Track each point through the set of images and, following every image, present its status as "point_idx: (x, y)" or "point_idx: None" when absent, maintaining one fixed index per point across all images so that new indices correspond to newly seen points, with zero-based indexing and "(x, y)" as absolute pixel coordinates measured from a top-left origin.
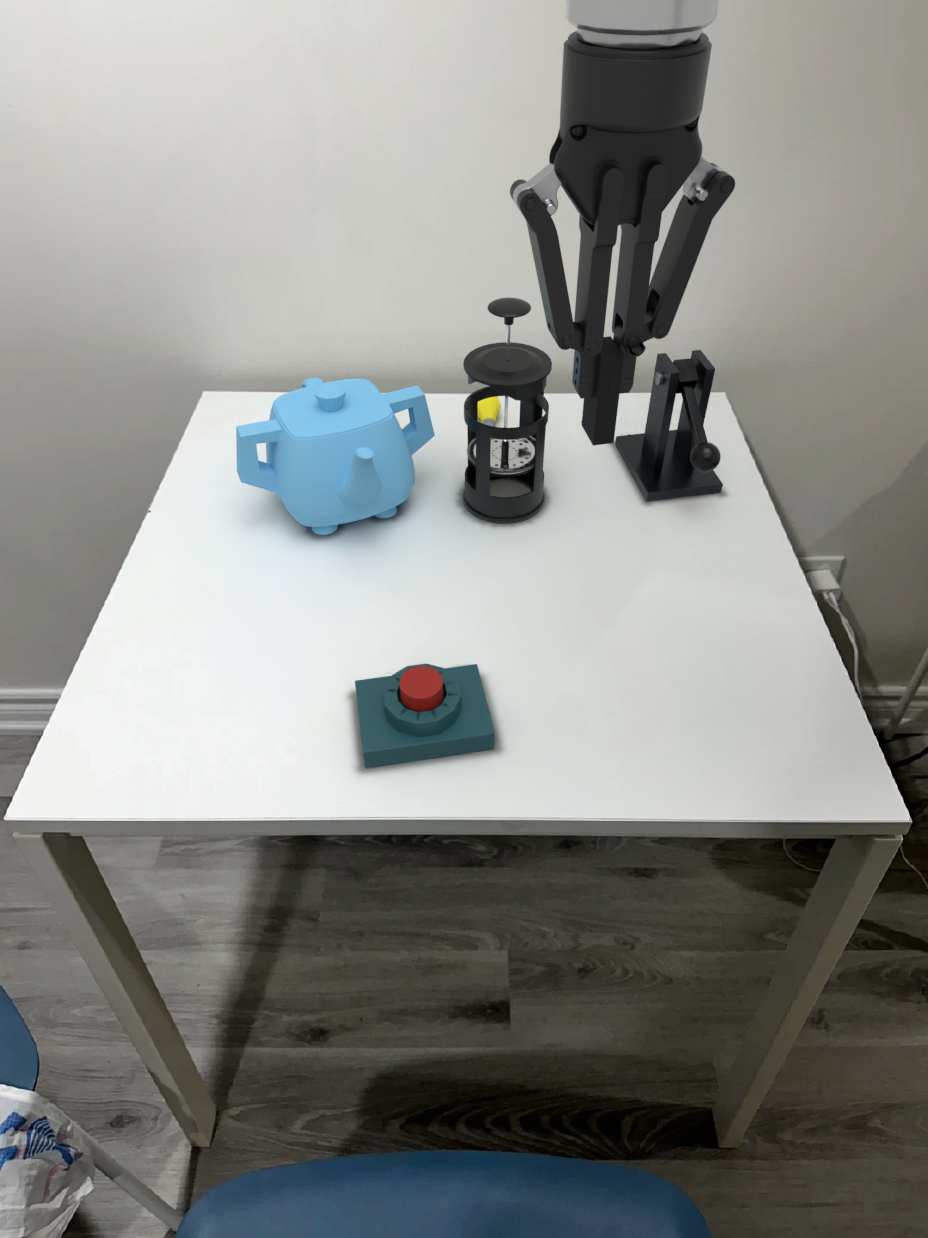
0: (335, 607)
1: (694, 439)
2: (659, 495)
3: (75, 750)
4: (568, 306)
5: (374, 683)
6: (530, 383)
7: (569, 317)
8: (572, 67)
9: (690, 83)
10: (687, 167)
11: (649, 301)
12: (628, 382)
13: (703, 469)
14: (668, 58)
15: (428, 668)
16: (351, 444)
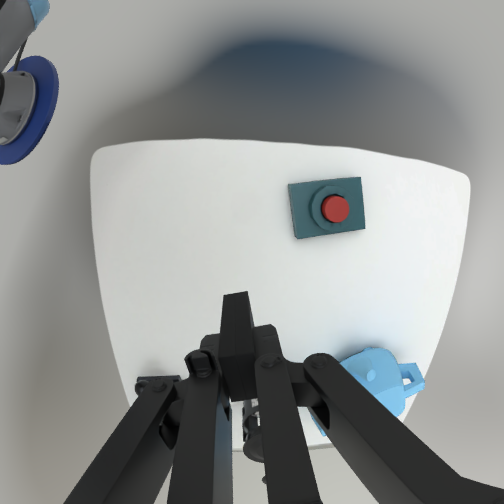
0: (368, 293)
1: None
2: (171, 377)
3: (462, 203)
4: (336, 402)
5: (355, 225)
6: (260, 433)
7: (327, 389)
8: None
9: None
10: None
11: (175, 435)
12: (207, 342)
13: (144, 381)
14: None
15: (332, 220)
16: (369, 388)
